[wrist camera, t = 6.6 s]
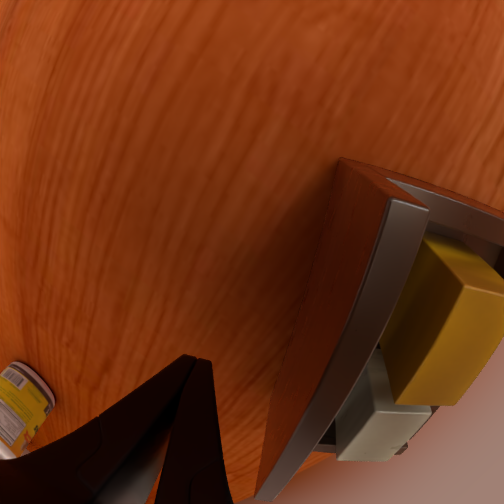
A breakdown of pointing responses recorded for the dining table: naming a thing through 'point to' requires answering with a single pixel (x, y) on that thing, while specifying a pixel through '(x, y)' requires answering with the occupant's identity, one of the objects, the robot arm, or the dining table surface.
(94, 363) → the dining table surface
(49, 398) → the supplement bottle
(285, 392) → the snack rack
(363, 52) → the dining table surface
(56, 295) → the dining table surface
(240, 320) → the dining table surface
